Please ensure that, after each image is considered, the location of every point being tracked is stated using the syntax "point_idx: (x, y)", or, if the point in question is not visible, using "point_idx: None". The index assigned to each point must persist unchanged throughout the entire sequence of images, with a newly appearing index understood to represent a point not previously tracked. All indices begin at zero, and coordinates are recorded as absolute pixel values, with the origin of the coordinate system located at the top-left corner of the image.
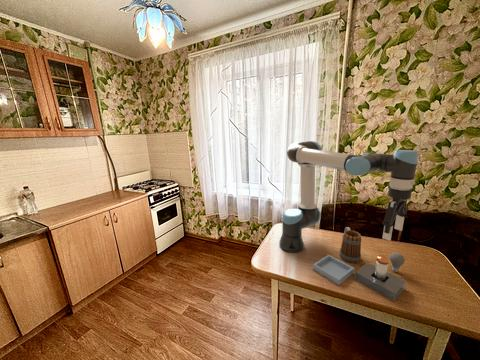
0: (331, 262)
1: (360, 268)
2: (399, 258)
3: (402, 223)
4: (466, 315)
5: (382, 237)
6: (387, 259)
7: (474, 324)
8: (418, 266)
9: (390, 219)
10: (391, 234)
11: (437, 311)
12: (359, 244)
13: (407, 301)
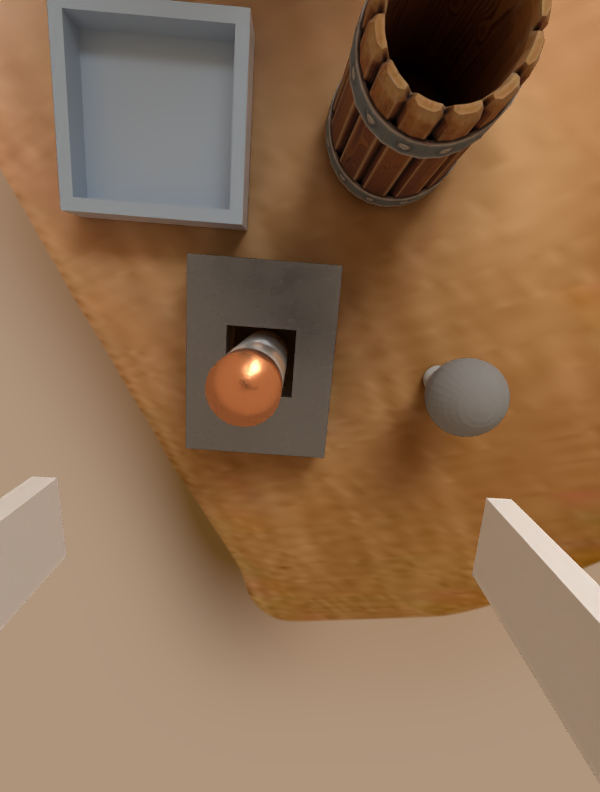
0: (223, 76)
1: (248, 258)
2: (447, 419)
3: (537, 676)
4: (329, 603)
5: (23, 482)
6: (244, 419)
7: (300, 619)
8: (563, 446)
9: None
10: (1, 626)
11: (274, 544)
12: (411, 156)
13: (243, 466)
